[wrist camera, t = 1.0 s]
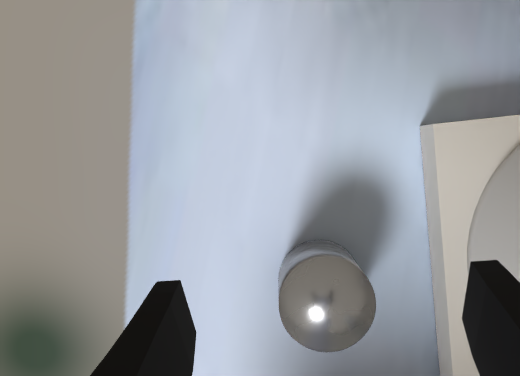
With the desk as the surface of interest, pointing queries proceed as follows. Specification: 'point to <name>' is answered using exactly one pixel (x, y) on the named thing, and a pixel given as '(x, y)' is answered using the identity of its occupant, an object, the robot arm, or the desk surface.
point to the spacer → (324, 297)
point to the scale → (469, 218)
